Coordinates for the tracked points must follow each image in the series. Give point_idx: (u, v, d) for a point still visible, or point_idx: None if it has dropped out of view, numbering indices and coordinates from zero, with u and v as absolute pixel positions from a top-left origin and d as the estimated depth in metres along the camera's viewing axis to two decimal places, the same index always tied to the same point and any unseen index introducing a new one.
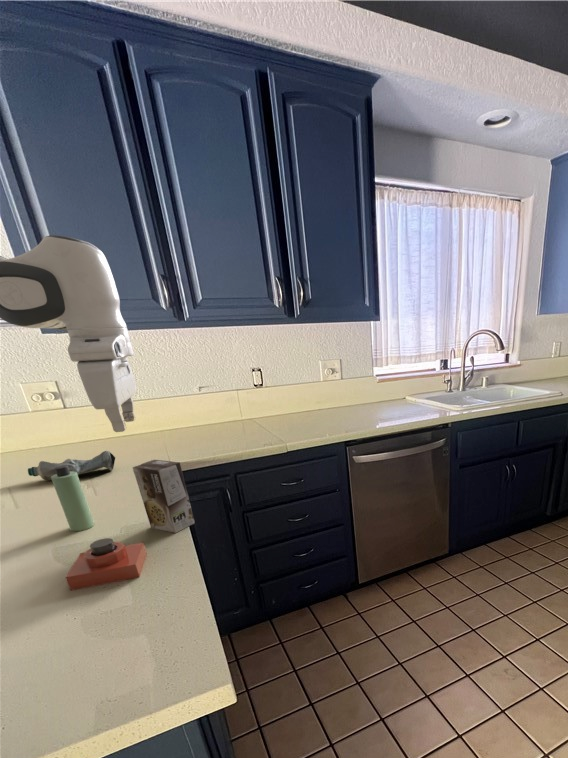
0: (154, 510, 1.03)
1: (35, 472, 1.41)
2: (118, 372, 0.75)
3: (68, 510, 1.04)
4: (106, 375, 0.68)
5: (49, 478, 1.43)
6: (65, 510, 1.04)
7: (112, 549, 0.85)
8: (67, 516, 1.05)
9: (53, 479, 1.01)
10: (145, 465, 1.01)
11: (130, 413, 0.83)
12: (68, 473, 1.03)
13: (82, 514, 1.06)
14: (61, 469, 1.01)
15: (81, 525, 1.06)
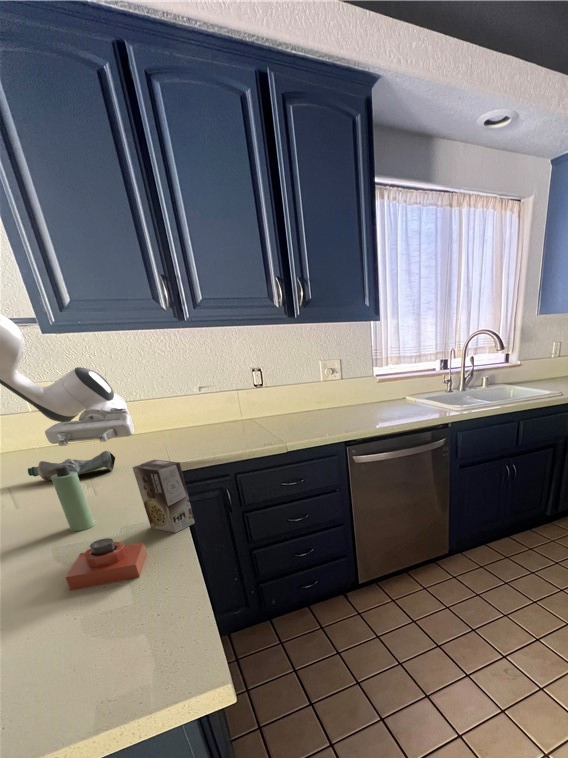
0: (153, 510, 1.03)
1: (35, 472, 1.41)
2: None
3: (68, 510, 1.04)
4: (133, 428, 1.20)
5: (49, 478, 1.43)
6: (65, 510, 1.04)
7: (112, 549, 0.85)
8: (67, 516, 1.05)
9: (53, 479, 1.01)
10: (145, 465, 1.01)
11: (67, 442, 1.10)
12: (68, 473, 1.03)
13: (82, 514, 1.06)
14: (61, 469, 1.01)
15: (81, 525, 1.06)
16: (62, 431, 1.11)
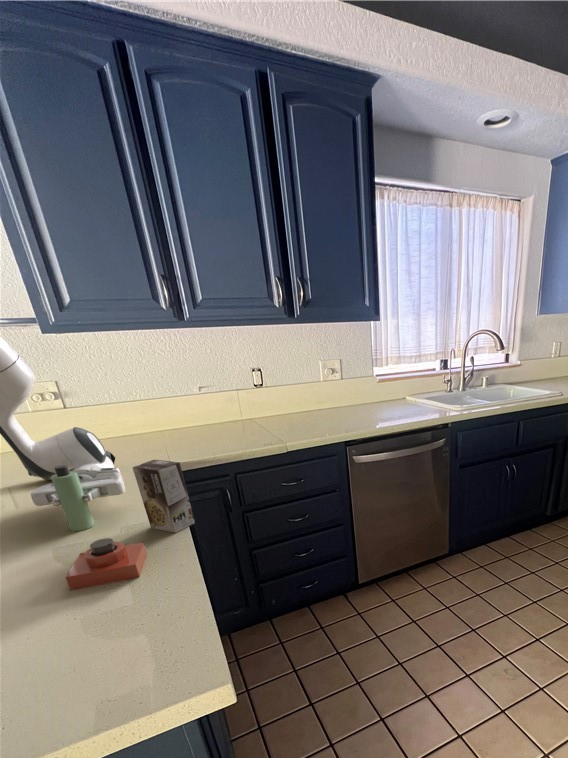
0: (153, 510, 1.03)
1: None
2: None
3: (68, 510, 1.04)
4: (124, 487, 1.17)
5: None
6: (65, 510, 1.04)
7: (112, 549, 0.85)
8: (67, 516, 1.05)
9: (53, 479, 1.01)
10: (145, 465, 1.01)
11: None
12: (68, 473, 1.03)
13: (82, 514, 1.06)
14: (61, 469, 1.01)
15: (81, 525, 1.06)
16: (50, 492, 1.07)
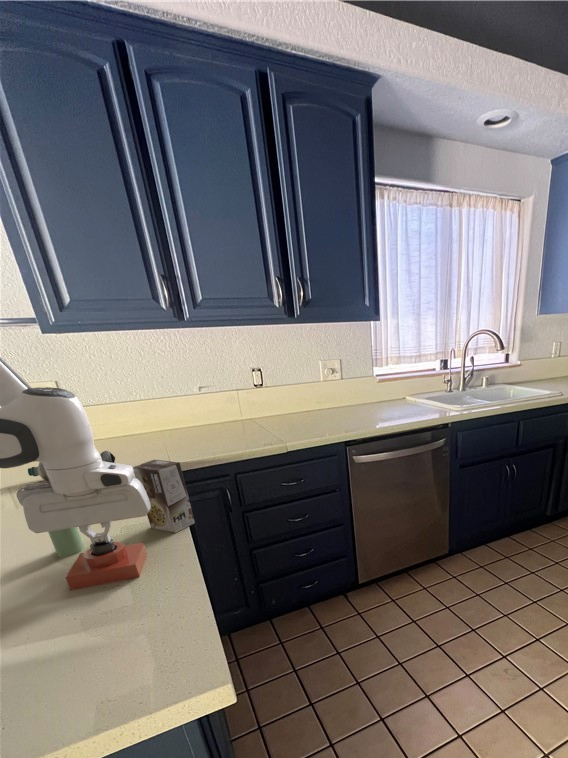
0: (153, 510, 1.03)
1: (35, 472, 1.41)
2: None
3: (53, 533, 0.92)
4: (142, 486, 0.85)
5: None
6: (51, 534, 0.92)
7: (112, 549, 0.85)
8: (53, 540, 0.93)
9: None
10: (145, 465, 1.01)
11: None
12: None
13: (70, 537, 0.94)
14: None
15: (69, 550, 0.94)
16: (59, 529, 0.80)
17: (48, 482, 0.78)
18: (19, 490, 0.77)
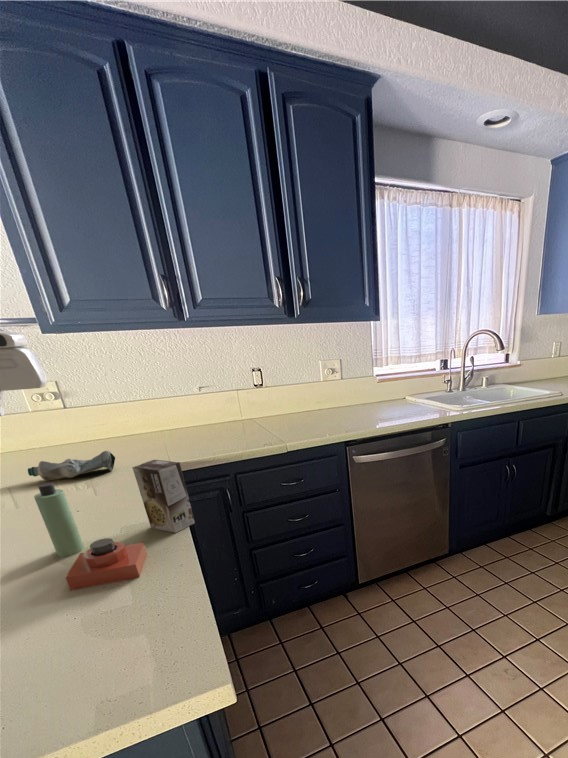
0: (153, 510, 1.03)
1: (35, 472, 1.41)
2: None
3: (53, 533, 0.92)
4: (36, 358, 0.81)
5: (49, 478, 1.43)
6: (51, 534, 0.92)
7: (112, 549, 0.85)
8: (53, 540, 0.93)
9: (36, 498, 0.89)
10: (145, 465, 1.01)
11: None
12: (54, 492, 0.91)
13: (70, 537, 0.94)
14: (46, 487, 0.89)
15: (69, 550, 0.94)
16: None
17: None
18: None
